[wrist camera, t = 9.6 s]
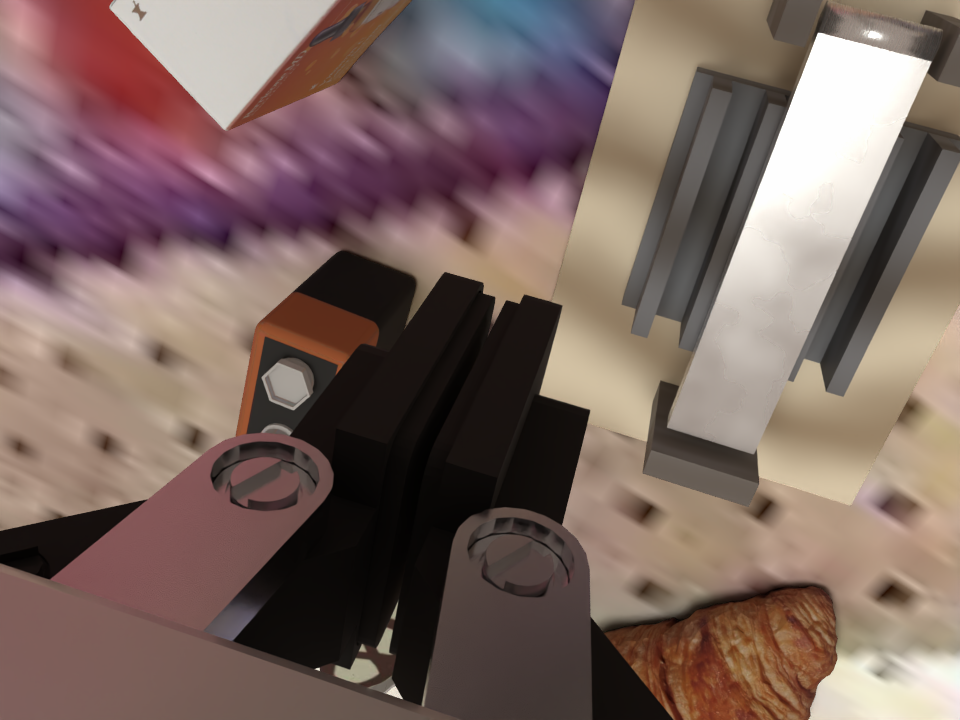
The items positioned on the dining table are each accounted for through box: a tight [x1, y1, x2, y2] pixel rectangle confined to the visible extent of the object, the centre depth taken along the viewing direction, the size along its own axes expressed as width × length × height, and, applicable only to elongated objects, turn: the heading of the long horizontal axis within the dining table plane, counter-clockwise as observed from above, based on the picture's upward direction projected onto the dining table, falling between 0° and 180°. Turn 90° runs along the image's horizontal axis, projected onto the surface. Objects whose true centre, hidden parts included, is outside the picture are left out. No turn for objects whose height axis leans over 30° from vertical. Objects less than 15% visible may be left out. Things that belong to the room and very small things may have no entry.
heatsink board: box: [539, 0, 960, 507], centre depth 34 cm, size 24×16×8 cm, turn 167°
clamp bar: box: [667, 1, 943, 454], centre depth 32 cm, size 17×4×1 cm, turn 167°
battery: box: [236, 251, 415, 437], centre depth 40 cm, size 4×7×10 cm, turn 163°
